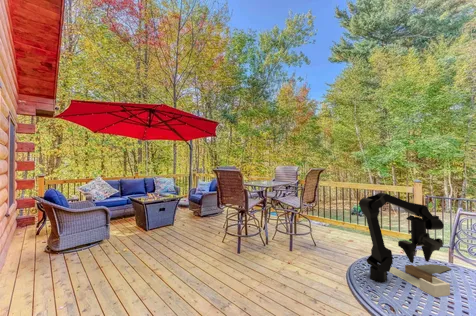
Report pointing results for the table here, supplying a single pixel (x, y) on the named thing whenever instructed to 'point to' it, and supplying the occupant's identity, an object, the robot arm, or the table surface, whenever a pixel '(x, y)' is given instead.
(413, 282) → the board
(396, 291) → the table surface
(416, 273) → the slat
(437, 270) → the stone slab
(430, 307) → the table surface
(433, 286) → the end cap
